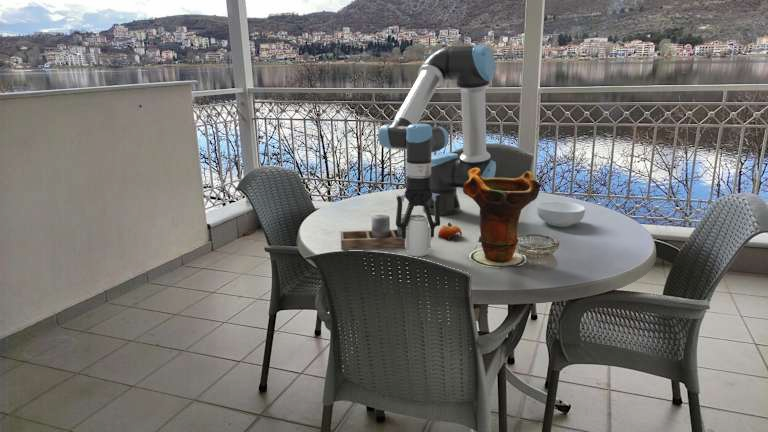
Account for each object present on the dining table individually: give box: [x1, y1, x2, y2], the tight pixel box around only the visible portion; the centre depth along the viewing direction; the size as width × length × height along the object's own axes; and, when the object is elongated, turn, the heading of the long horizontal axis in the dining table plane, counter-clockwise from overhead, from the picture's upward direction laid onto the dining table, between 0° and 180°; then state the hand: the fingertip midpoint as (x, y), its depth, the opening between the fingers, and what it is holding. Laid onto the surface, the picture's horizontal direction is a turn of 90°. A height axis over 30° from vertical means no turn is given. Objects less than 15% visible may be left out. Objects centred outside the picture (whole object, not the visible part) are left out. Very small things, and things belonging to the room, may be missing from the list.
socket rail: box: [340, 213, 413, 250], centre depth 176 cm, size 27×9×9 cm, turn 96°
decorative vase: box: [462, 168, 542, 269], centre depth 160 cm, size 21×23×28 cm
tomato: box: [438, 222, 463, 241], centre depth 183 cm, size 8×7×7 cm
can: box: [406, 214, 429, 258], centre depth 166 cm, size 6×6×12 cm
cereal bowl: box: [536, 200, 586, 228], centre depth 197 cm, size 17×17×7 cm
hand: (417, 247), depth 167 cm, fingers closed on can, 6 cm apart
